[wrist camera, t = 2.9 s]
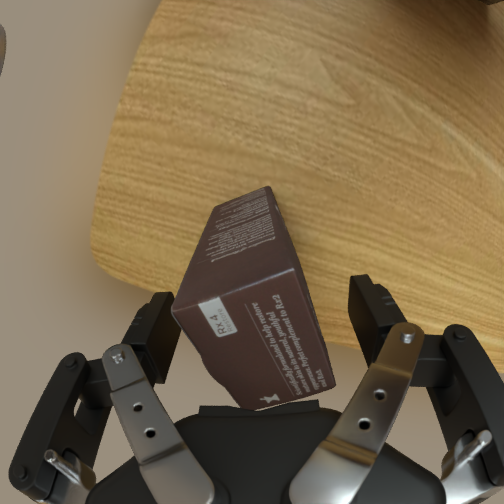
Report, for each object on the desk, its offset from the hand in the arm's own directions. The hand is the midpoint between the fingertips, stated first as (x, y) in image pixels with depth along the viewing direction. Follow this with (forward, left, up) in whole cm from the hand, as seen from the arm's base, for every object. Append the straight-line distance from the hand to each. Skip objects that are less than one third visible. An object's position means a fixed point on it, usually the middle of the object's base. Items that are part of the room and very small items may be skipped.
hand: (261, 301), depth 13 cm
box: (0, 0, -8) cm, 8 cm away
